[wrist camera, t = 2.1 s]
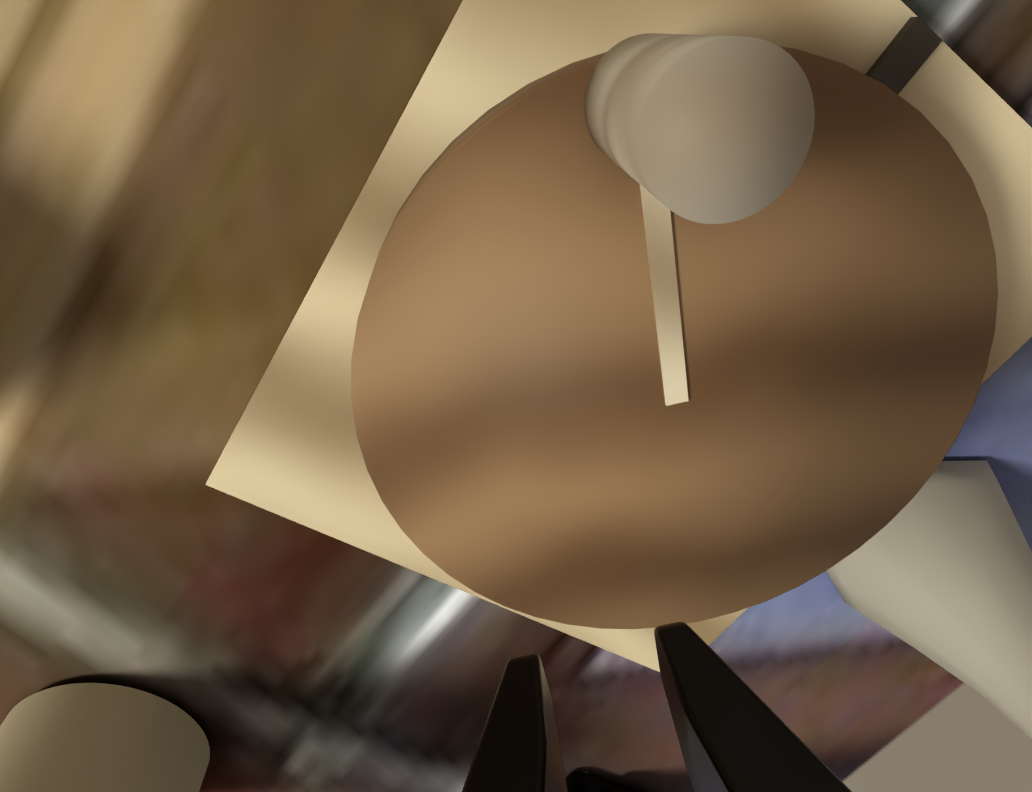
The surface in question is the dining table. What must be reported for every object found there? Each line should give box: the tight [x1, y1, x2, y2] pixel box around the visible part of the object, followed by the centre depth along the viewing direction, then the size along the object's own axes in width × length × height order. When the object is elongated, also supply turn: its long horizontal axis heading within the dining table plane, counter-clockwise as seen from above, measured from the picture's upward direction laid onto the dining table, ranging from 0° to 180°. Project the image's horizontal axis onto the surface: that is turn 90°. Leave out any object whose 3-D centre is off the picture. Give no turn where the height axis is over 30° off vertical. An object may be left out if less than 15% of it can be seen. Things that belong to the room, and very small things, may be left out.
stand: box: [205, 0, 1032, 672], centre depth 20 cm, size 21×19×2 cm
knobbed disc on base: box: [351, 33, 998, 629], centre depth 17 cm, size 17×17×7 cm
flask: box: [826, 460, 1032, 740], centre depth 22 cm, size 7×7×10 cm
